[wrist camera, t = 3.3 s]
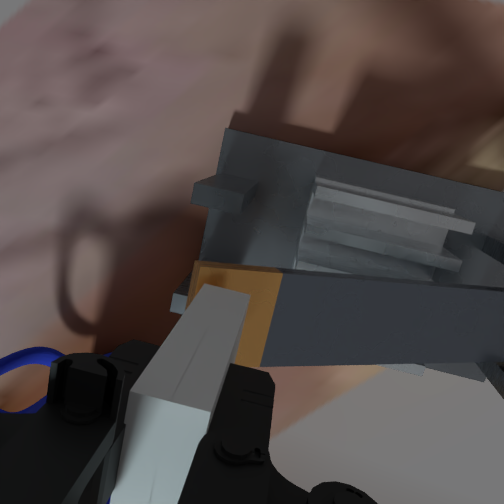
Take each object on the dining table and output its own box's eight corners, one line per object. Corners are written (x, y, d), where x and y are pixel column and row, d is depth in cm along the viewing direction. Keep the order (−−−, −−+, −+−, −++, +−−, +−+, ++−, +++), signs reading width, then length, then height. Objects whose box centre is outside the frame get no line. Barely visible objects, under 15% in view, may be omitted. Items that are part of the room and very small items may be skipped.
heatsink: (192, 303, 32) (152, 362, 24) (227, 128, 29) (197, 122, 21) (478, 374, 31) (546, 463, 23) (544, 201, 28) (652, 227, 20)
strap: (171, 358, 16) (181, 380, 15) (192, 250, 15) (205, 265, 14) (513, 354, 25) (537, 369, 23) (541, 285, 24) (568, 295, 22)
